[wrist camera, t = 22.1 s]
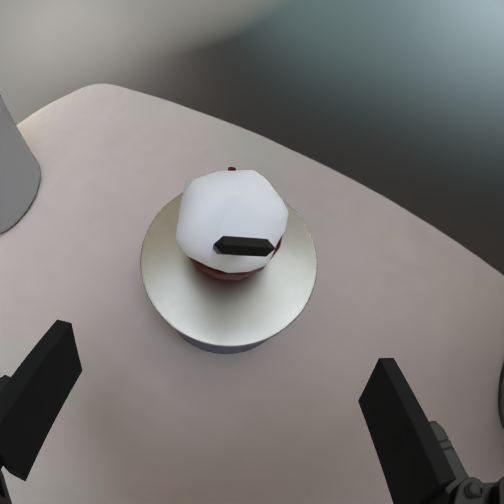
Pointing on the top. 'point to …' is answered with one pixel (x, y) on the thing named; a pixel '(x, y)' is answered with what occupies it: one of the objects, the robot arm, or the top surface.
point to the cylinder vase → (15, 172)
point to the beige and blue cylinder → (227, 288)
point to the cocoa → (230, 223)
